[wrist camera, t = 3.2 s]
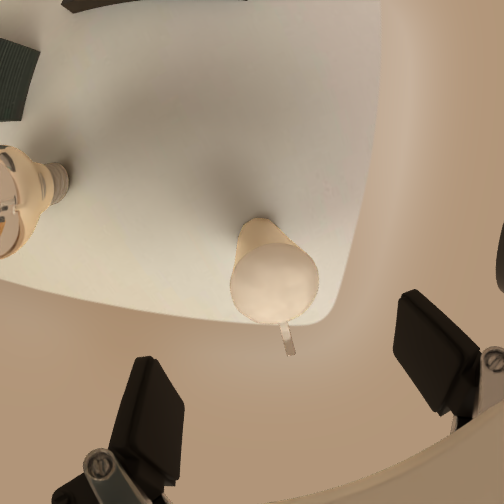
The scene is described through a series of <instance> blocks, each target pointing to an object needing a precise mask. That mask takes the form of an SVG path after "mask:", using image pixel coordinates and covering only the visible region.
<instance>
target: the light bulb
mask: <svg viewBox="0 0 504 504" xmlns="http://www.w3.org/2000/svg"><path fill="white" fill-rule="evenodd" d="M68 185H69V178H68V174H67V171H66V170H65V168H64V167H63V166H62V165H61V164H59V163H49V164H41V163H37V162H33V161H32V160H31V159H30V158H29V157H28V156H27V155H26V154H25V153H24V152H22V151H21V150H19V149H17V148H15V147H12V146H9V145H0V260H1V259H4V258H6V257H8V256H10V255H12V254H14V253H16V252H17V251H18V250H19V249H20V248H21V247H22V246H24V245H25V244H26V242H27V241H28V239H29V238H30V237H31V235H32V234H33V232H34V230H35V227H36V225H37V223H38V221H39V218H40V215H41V213H43V212H44V211H45V210H46V209H47V208H48V207H49V206H50V205H53V204H55V203H58V202H59V201H61V200H62V199H63V198H64V196H65V195H66V193H67V190H68Z"/></svg>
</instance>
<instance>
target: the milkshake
mask: <svg viewBox="0 0 504 504" xmlns="http://www.w3.org/2000/svg"><path fill="white" fill-rule="evenodd" d="M318 285H319V277H318V270H317V267H316V265H315V263H314V261H313V260H312V258H311V257H310V256H309V255H308V254H307V253H306V252H304V251H303V250H302V249H301V248H300V247H299V246H298V245H296V244H295V243H294V242H293V241H292V240H290V239H289V238H288V237H287V236H286V235H285V234H284V233H283V232H282V231H281V230H280V229H279V228H278V227H277V226H276V225H275V224H274V223H273V222H272V221H270V220H269V219H264V218H254V219H252V220H250V221H249V222H247V223H245V224H244V225H243V227H242V229H241V231H240V234H239V236H238V241H237V248H236V256H235V262H234V267H233V272H232V276H231V280H230V291H231V296H232V299H233V302H234V305H235V306H236V308H237V309H238V311H240V312H241V313H242V314H243V315H245V316H246V317H248V318H250V319H251V320H253V321H255V322H257V323H261V324H279V326H280V330H281V334H282V338H283V342H284V346H285V350H286V354H287V356H291V355H295V354H296V352H295V348H294V345H293V341H292V337H291V334H290V330H289V326H288V322H287V321H290V320H292V319H294V318H296V317H298V316H300V315H301V314H303V313H304V312H305V311H306V310H307V309H308V308H309V306H310V305H311V303H312V302H313V300H314V298H315V296H316V294H317V291H318Z"/></svg>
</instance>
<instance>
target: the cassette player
mask: <svg viewBox="0 0 504 504" xmlns="http://www.w3.org/2000/svg"><path fill="white" fill-rule="evenodd" d="M39 55H40V52H39V51H36V50H34V49H31V48H28V47H26V46H23V45H20V44H17V43H14V42H11V41H8V40H5V39H2V38H0V122H6V121H21V119H22V114H23V109H24V105H25V101H26V97H27V93H28V89H29V85H30V82H31V79H32V75H33V72H34V69H35V66H36V63H37V60H38V57H39Z"/></svg>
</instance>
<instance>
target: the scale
mask: <svg viewBox="0 0 504 504" xmlns="http://www.w3.org/2000/svg"><path fill="white" fill-rule="evenodd" d="M130 1H138V0H63V1H62V3H61V5H62V6H64V7H65V8H66V9H68V10H69V11H70V12H72V13H77V12H80V11H84V10H88V9H92V8H97V7H101V6H106V5H111V4H117V3H123V2H130ZM245 1H247V0H245Z"/></svg>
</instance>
